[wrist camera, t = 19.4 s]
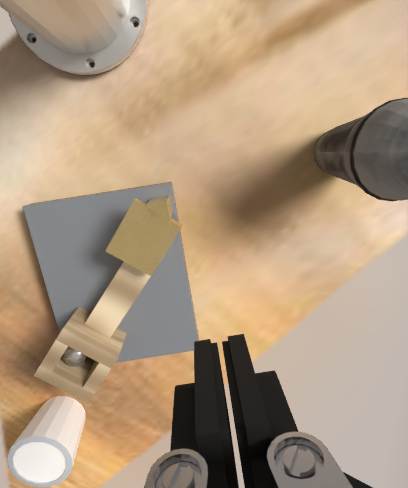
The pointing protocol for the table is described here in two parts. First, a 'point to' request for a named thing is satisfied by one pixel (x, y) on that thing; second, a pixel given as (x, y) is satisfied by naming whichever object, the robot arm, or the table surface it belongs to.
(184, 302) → the board
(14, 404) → the table surface
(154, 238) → the block
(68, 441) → the white cylinder
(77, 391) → the link
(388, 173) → the beverage cup
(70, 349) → the pintle
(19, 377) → the table surface
